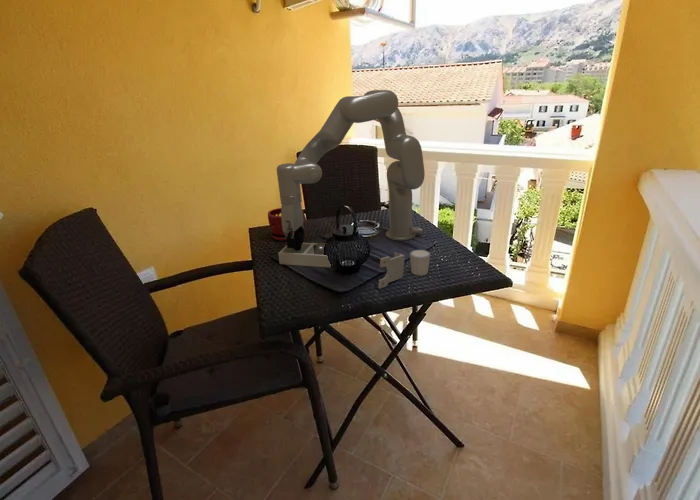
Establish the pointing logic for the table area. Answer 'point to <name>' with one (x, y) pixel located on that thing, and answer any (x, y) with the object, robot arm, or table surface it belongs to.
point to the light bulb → (298, 241)
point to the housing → (305, 255)
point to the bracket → (392, 269)
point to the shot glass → (419, 262)
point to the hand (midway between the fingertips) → (296, 243)
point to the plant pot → (276, 224)
